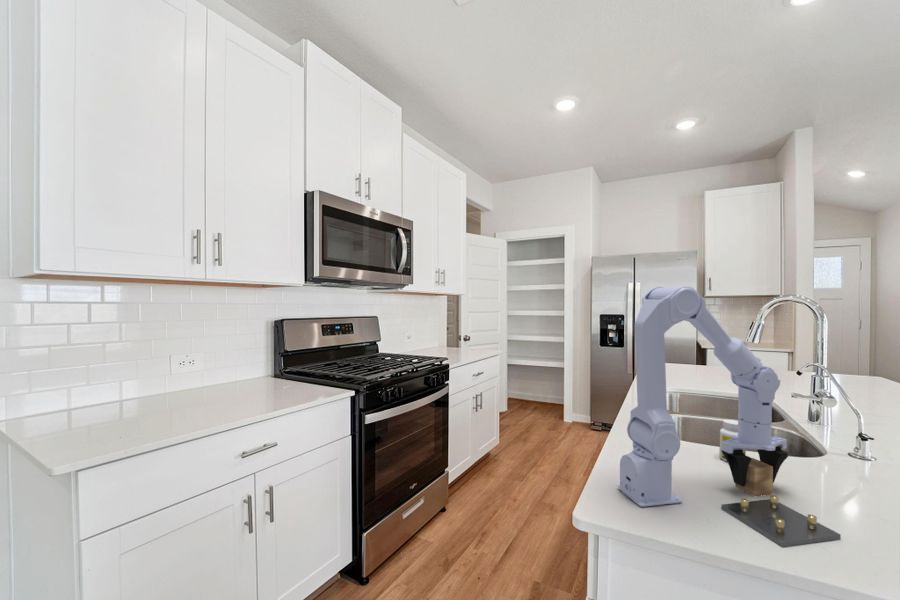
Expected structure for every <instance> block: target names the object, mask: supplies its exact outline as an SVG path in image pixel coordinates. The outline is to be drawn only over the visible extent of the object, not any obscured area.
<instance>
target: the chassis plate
mask: <svg viewBox="0 0 900 600" xmlns="http://www.w3.org/2000/svg"><path fill="white" fill-rule="evenodd" d="M720 507H721V508H720V509H721V510H723V511H724V512H726V513H728V514H729V515H731V516H732V517H734V518H735V519H737V520H739V521H740V522H741V523H743V524H745V525H747V527H749V528H752V529H753V530H755V531H756V532H758V533H759V534H761V535H762V536H764V537H766V538H767V539H769V540H770V541H772V542H774V543H775V544H777V545H778V546H779V547H782V548H787V547H793V546H801V545H807V544H814V543H816V544H817V543H822V542H824V543H825V542H829V541H831V542H832V541H836V540H841V539H842V538H841V534H840V533H838V532H836V531H835V530H833V529H832V528H831V529H830V528H829V527H827V526H825V525H823V524H822V523H820V522H817V521H818V520H817V519H818V518H817V516H816V515H814V514H807V516H806V515H804V514H802V513H800V512H798V511H797V510H795V509H793V508H791V507H789V506H787V505H785V504H784V503H781V502H780V501H779V497H778V496H777V495H770V498H769V499H759V500H751V501H750V500H748V499H747V498H740V502H733V503H732V502H731V503H724V504H721V505H720Z"/></svg>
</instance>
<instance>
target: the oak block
mask: <svg viewBox="0 0 900 600" xmlns="http://www.w3.org/2000/svg"><path fill="white" fill-rule="evenodd" d="M751 458H752V460H751V461H750V464H749V466H748V470H747V478H746V484H745V486H743V487H742V486H740V485H738V484H736V483H734V484H735V485H734V486H735V487H736V488H737V487H738V489H739V488H740V490H741V489H742V490H741V491H743V490H744V491H743V492H745V491H746V492H745V493H747V492H748V493H747V494H749V495H750V494H751V495H750V496H752V495H753V496H752V497H754V496H757V497H763V495H766V496H771V495H770V494H773V493H774V492H773V490H774V488H773V487H774V485H773V484H774V483H773V466H770V465H768V464H766V463H763V462H761V461H760V459H759V460H758V459H757V458H754V457H751ZM761 495H762V496H761Z"/></svg>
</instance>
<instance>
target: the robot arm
mask: <svg viewBox="0 0 900 600" xmlns="http://www.w3.org/2000/svg"><path fill="white" fill-rule="evenodd" d="M706 304H707V303H706V299H705V298H704V297H702V296H701V295H700V293H699V292H698V291H697V290H696V289H695V288H693V287H692V286H687V285H682V286H676V287H675V286H673V287H672V286H671V287H670V286H668V287H667V286H666V287H663V286H656V287H653V288H651V289H650V290H649V291H648V292H646V294H644V295H643V296H642V297H641V307H640V309H639V311H638V314H637V316H636V319H635V322H634V341H635V342H634V344H635V345H634V346H635V349H634V350H635V371H636V372H635V374H636V392H637V393H636V395H637V397H636V399H637V400H636V401H637V406H636V407H633V408H632V409H631V410H630V419H629V421H628V423H627V427H626V432H627V436H628V438H629V440H631V441H632V451H631V452H629V453H626V454H623V455H622V456H621V458H620V460H619V485H617V489H618V490H620V491H621V492H622V493H623V494H624V495H625V496H626V497H628V498H629V499H631V501H633V502H634V503H635V504H637V506H639V507H641V508H643V507H644V508H645V507H651V506H652V507H653V506H662V505H671V504H680V503H682V502H683V501H682V499H681V498H680V497H679V496H677V495H676V494H674V493H673V492H672V485H673V484H672V482H673V481H672V479H673V476H672V470H673V469H672V467H673V462H672V460H674V457H675V456H676V455H677V454H678V453H679V450H680V448H681V439H680V437H679V434H678V433H677V430H676V422H675V421H674V418H673V417H672V415H671V413H670V412H669V410H668V404H667V403H668V401H667V400H668V399H667V373H666V348H665V333H666V332H668V330H670V329H671V328H672V327H673V326H675V325H676V324H678V323H681V322H683V321H685V322H689V323H690V324H691V325H692V326H693V327H694V328H695V329H696V330H697V331H698V332H699V333H700V334H701V335H702V336H703V337H704V338H705V339H706V340H707V341H708V342H709V343H711V344H712V345H713V347H714V349H713V354H714V356H715V357H716V358H717V360H719V361H720V363H721V364H722V365H723V366H724V367H725V368H726V369H727V371H729V373H730V379H731V382H732V384H735V385H736V386H737V387H738V388H737V389H738V395H737V398H738V399H737V400H738V401H737V402H738V407H737V408H738V409H737V421H738V436H737V437H735V438H732V439H729V440H726V441H721V452H722V453H723V455H724V456H725V458H726V460H727V464H728V467H729V469H730V472H731V476H732V481H733V482H734V484H735V483H736V484H738V485H740V486H742V487H743V486H745V484H746V478H747V470H748V466H749V464H750V461H751V460H752V458H753V457H751V456H748V455H745V453H743V451H746V452H747V451H754V450H755V451H756V450H757V453H758V457H759V461H761V462H763V463H766V464H768V465H770V466H773V484H775V480H776V477H777V475H778V473H779V470H780V468H781V466H782V464H783V463H784V462H785V461H786V459H788V457H789V452H787V451H786V450H785V449H788V447H787V446H788V441H787V438H783V437H780V436H772V423H773V421H772V420H773V417H772V415H773V414H772V412H773V411H772V410H773V403H774V400H775V396H776V392H777V391H778V390H779V388H780V385H781V380H780V379H779V377H778V374H777V373H776V372H775V370H774V369H772V368H771V367H769V366H766V365H763V363H762V362H761V361H762V360H761V358H759V357H757V356H756V355H755V354H754V353H753V352H752V351H751V349H749V347H747V346H748V342H746V341H745V340H743V339H740V338H738V337H730V335H729V334H728V332H727V331H726V330H725V329H724V327H723V326H722V325H721V324H720V322H718V320H717V319H716V317H715V316H714V315H713V314H712V312H711V311H710V310H709V309H708V308H707V307H708V306H707V305H706Z"/></svg>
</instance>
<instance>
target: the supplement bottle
mask: <svg viewBox="0 0 900 600" xmlns="http://www.w3.org/2000/svg"><path fill="white" fill-rule="evenodd" d="M722 426H723V427H722V428H720V430H719V453H718V455H719V458H720V459H721V460H722V461H724V462H725V463H726V462H727V460H726V458H725V456H724V455H723V453H722V452H721V441H726V440H729V439H732V438H735V437H737V436H738V420H736V419H723V423H722ZM743 453H745V455H746V453H747V450H746V451H743ZM746 456H747V455H746ZM727 463H728V462H727Z"/></svg>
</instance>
